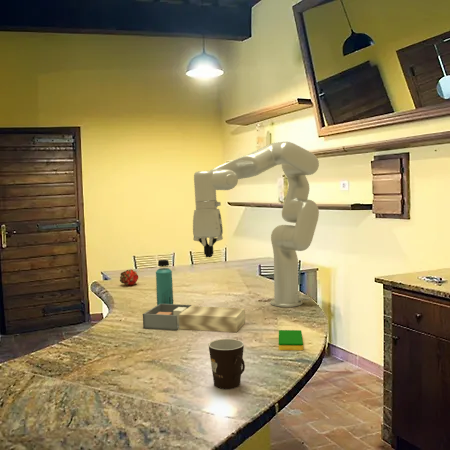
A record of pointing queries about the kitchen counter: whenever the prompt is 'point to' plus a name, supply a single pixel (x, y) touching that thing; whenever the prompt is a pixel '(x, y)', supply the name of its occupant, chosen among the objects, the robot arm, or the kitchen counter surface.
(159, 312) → the orange square block
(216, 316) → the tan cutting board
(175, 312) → the cream square block
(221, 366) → the coffee mug
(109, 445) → the kitchen counter surface
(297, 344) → the dish sponge
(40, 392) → the kitchen counter surface
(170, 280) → the beverage bottle
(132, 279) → the dragon fruit
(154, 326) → the tray
